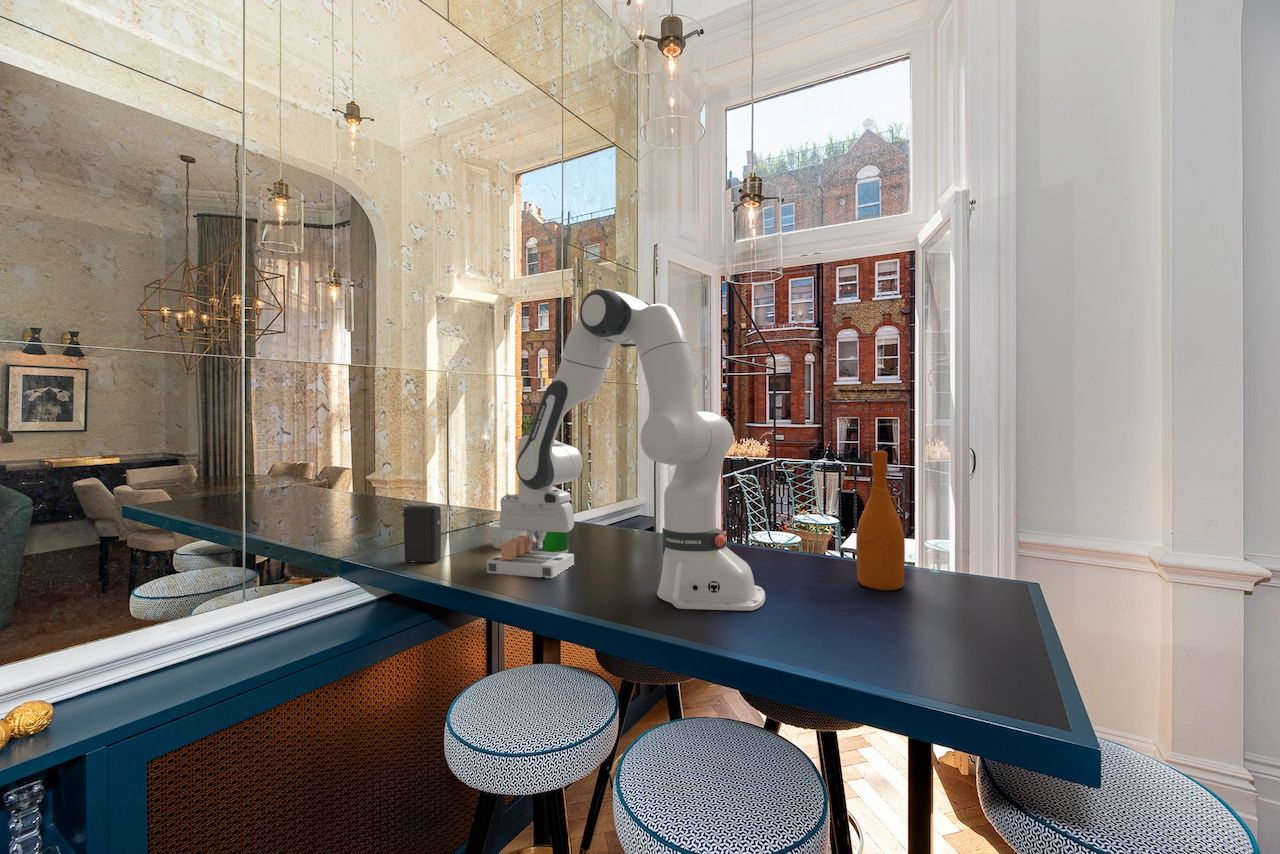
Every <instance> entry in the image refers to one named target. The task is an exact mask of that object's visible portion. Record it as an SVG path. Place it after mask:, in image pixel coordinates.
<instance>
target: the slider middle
mask: <svg viewBox="0 0 1280 854" xmlns="http://www.w3.org/2000/svg"><path fill="white" fill-rule="evenodd" d="M510 541H511V542H516V556H522V555H524V554H525V547H524V538H512V539H510Z"/></svg>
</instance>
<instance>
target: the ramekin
mask: <svg viewBox="0 0 1280 854" xmlns="http://www.w3.org/2000/svg"><path fill="white" fill-rule="evenodd" d="M488 530H489V537H490V543H491V546H492V547H493V549H496V550H501V543H502V542H505V541H510V539H512V538H517V536H519V535H527V531H520V530H502V529H501V527H500V520H498V521H497V520H496V521H493V522H490V523H489V524H488Z"/></svg>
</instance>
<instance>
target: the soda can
mask: <svg viewBox="0 0 1280 854" xmlns="http://www.w3.org/2000/svg"><path fill="white" fill-rule="evenodd" d="M546 533H547V534H546V536H545V538H544V540H543V547H542V548H540V550H541V551H540V552H553V553H568V552H569V532H546Z"/></svg>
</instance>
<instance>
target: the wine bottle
mask: <svg viewBox="0 0 1280 854" xmlns="http://www.w3.org/2000/svg"><path fill="white" fill-rule="evenodd" d="M888 456H889V455H888V452H887V451H885V450H882V449H879V450H878V449H877V450H873V451H872V452H871V463H872V464H871V471H872V472H873V473H872V486H871V488H870V489H871V490H870V492H869V497H868V500H867V502H866V504H865V507H864V509H863V510H862V512H861V516H860V518H859V521H858V525H857V530H856V535H855V536H856V544H855V547H856V549H855V552H856V553H855V554H856V575H857V576H856V577H857V581H858V582H859V584H861V586H864V587H867V588H869V589H872V590H878V591H894V590H895V591H896V590H899V589H901V588H903V586H904V584H905V563H906V555H905V553H906V550H905V549H906V547H905V546H906V545H905V543H906V542H905V532H904V529H903V525H902V522H901V521H902V520H901V519H900V516H899V514H898V512H897V510H896V509H898V506H897V502H896V499H895V496H893V495H891V494H890V490H889V488H888V487H889V486H888V483H887V472H888V469H889V467H888Z"/></svg>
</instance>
